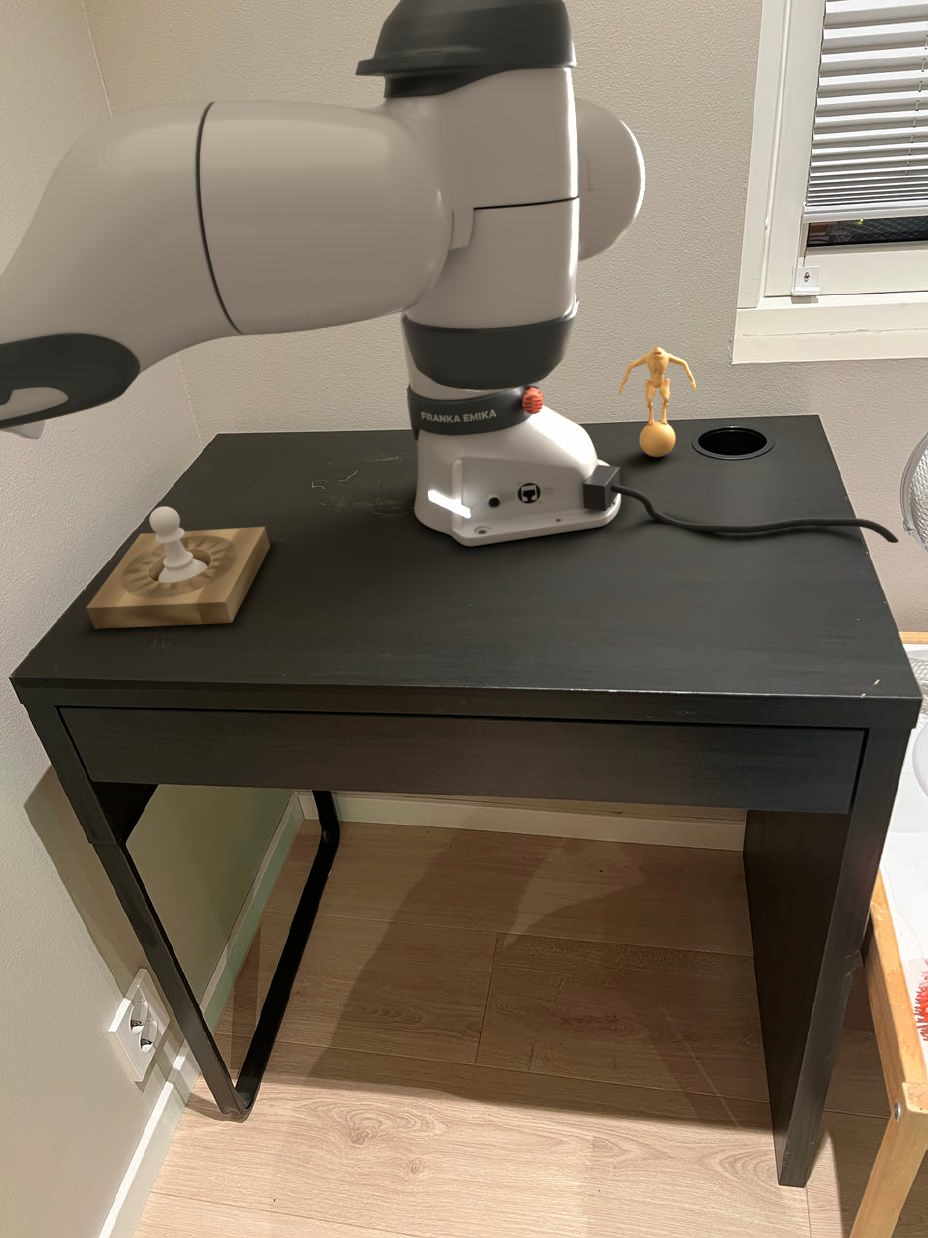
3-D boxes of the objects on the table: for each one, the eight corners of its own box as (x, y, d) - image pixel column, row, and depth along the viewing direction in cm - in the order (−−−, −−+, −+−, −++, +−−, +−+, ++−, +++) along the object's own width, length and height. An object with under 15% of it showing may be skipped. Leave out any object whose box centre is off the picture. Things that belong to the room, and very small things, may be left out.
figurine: (620, 464, 105) (618, 361, 98) (621, 441, 110) (619, 342, 103) (695, 461, 104) (698, 357, 97) (693, 438, 108) (696, 337, 101)
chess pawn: (157, 602, 92) (127, 524, 87) (169, 575, 96) (141, 499, 91) (206, 597, 92) (179, 518, 87) (216, 570, 96) (191, 493, 91)
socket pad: (270, 546, 99) (265, 526, 98) (232, 623, 88) (225, 601, 86) (147, 553, 101) (140, 533, 100) (94, 629, 90) (85, 608, 88)
